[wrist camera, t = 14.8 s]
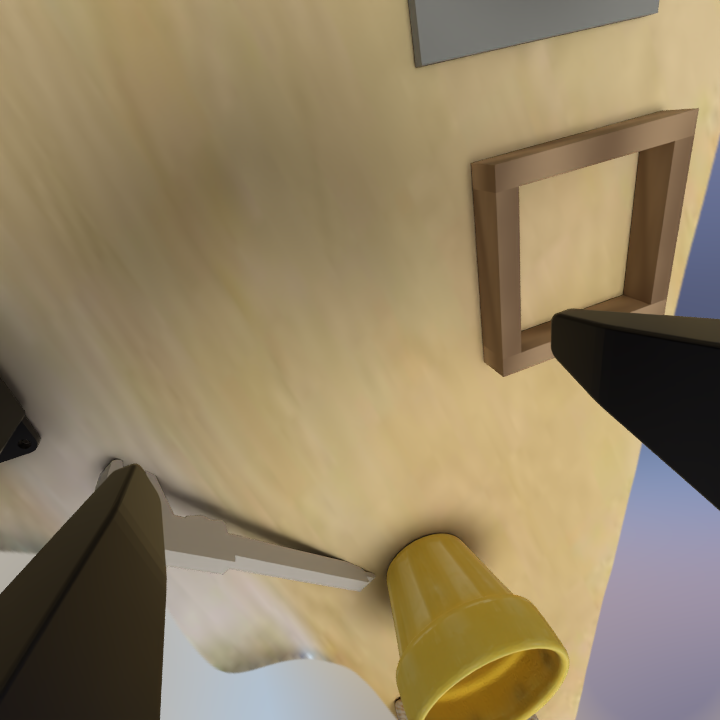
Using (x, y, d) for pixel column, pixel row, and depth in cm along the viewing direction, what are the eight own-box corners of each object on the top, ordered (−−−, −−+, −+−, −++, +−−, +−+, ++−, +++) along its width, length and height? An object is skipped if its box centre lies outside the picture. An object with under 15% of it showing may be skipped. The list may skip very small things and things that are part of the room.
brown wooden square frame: (484, 362, 27) (503, 377, 25) (471, 163, 21) (494, 165, 19) (636, 306, 29) (663, 316, 27) (662, 110, 23) (698, 108, 21)
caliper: (101, 466, 22) (68, 570, 17) (114, 452, 22) (86, 551, 17) (364, 580, 33) (396, 665, 27) (374, 570, 32) (408, 654, 27)
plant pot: (361, 627, 35) (412, 780, 26) (359, 535, 30) (420, 686, 22) (475, 588, 37) (554, 716, 29) (490, 499, 33) (588, 621, 24)
